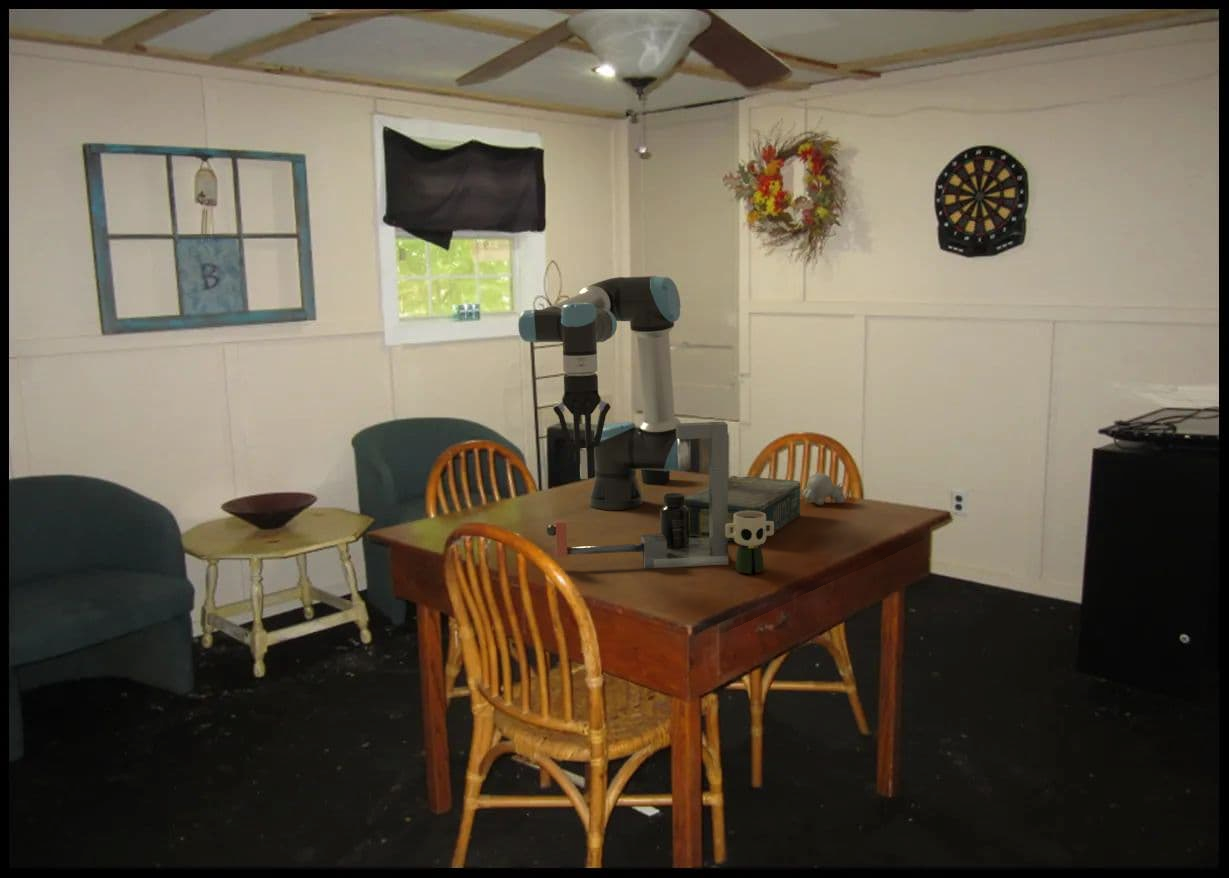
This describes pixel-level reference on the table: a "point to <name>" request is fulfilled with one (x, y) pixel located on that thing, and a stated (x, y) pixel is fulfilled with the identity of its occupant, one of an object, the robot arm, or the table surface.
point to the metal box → (748, 502)
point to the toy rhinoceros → (823, 489)
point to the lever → (563, 550)
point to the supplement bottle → (675, 520)
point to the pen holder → (655, 476)
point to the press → (716, 544)
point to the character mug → (749, 539)
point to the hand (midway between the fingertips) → (584, 477)
